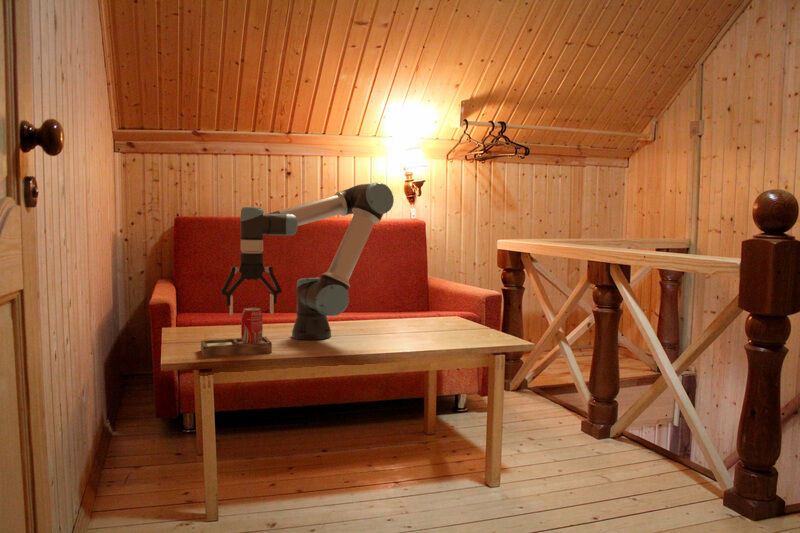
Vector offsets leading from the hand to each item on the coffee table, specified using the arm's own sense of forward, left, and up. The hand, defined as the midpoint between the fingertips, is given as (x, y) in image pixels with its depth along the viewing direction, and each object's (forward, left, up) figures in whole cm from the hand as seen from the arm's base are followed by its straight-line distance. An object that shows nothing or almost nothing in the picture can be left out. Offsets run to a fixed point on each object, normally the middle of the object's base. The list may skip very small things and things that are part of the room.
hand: (251, 314), depth 194 cm
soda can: (0, 0, -10) cm, 10 cm away
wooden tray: (+5, 0, -13) cm, 14 cm away
